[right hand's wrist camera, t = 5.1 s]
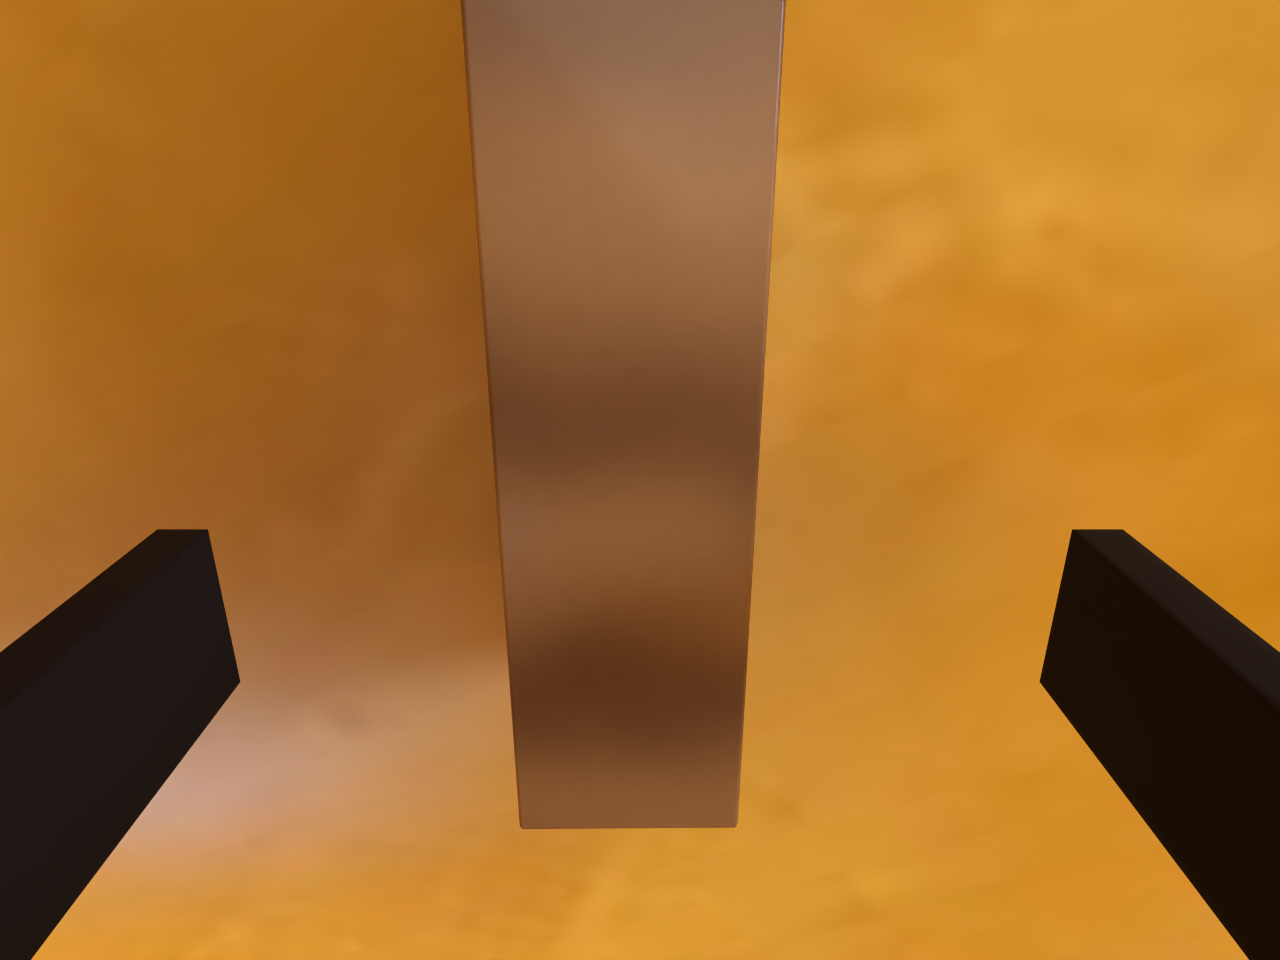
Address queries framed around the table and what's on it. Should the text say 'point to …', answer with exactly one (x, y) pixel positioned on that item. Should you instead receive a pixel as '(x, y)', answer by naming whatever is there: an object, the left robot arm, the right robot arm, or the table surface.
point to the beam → (625, 386)
